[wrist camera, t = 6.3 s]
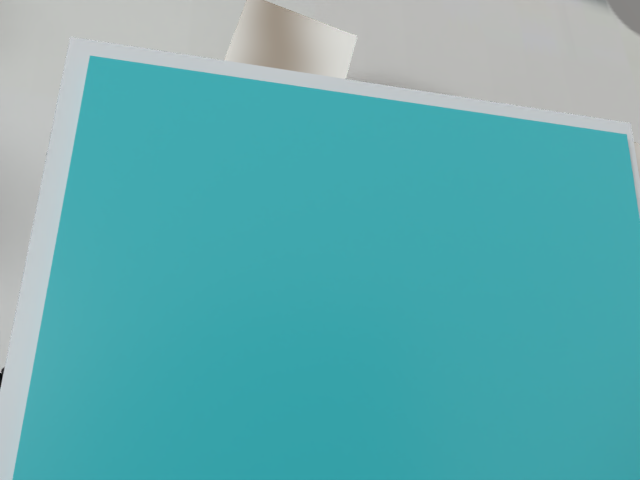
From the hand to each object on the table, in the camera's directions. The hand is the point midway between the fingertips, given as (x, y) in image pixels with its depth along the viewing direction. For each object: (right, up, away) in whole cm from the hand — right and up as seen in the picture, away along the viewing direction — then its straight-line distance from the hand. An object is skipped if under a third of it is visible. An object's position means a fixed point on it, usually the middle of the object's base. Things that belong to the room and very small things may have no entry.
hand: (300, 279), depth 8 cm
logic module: (-1, -3, +6) cm, 7 cm away
